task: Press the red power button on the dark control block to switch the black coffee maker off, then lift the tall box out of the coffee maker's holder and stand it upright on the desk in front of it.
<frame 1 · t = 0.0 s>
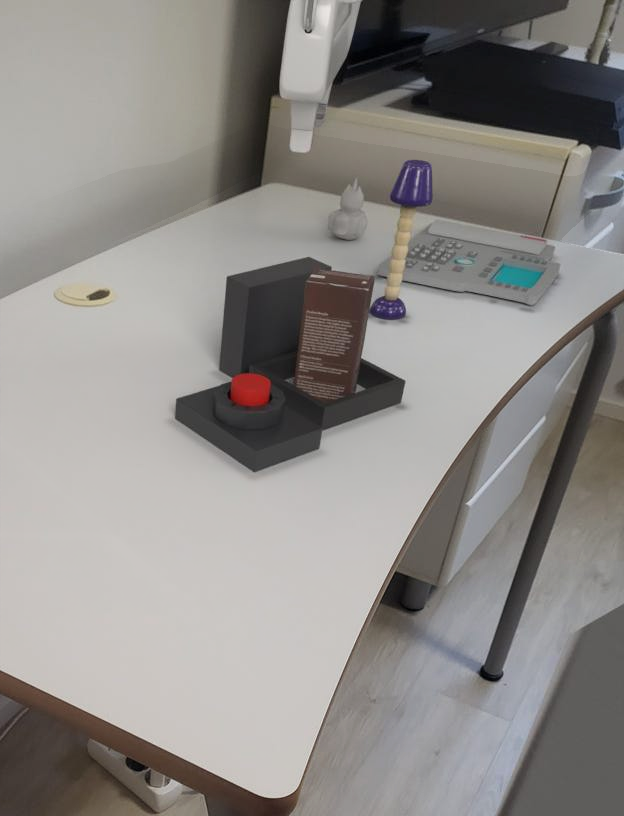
hand: (307, 137, 87), 23 cm above the table, tool pointing down, fingers open, 8 cm apart
power button: (250, 390, 90), point 4 cm above the table, slide at 0.1 cm
box: (323, 397, 99), resting in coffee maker
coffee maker: (323, 395, 99), on the table
toy lamp: (388, 313, 117), on the table
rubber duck: (344, 240, 136), on the table
office telephone: (476, 267, 130), on the table
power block: (245, 433, 93), on the table
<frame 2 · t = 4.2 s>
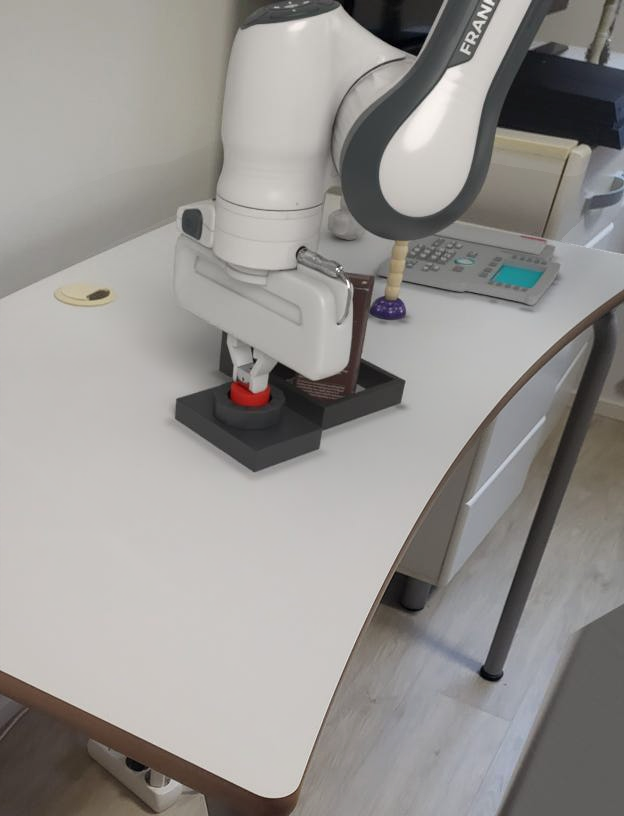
hand: (249, 386, 89), 5 cm above the table, tool pointing down, fingers closed, pressing on power button
power button: (249, 395, 90), point 4 cm above the table, slide at -0.4 cm, touching gripper
everything else where it was.
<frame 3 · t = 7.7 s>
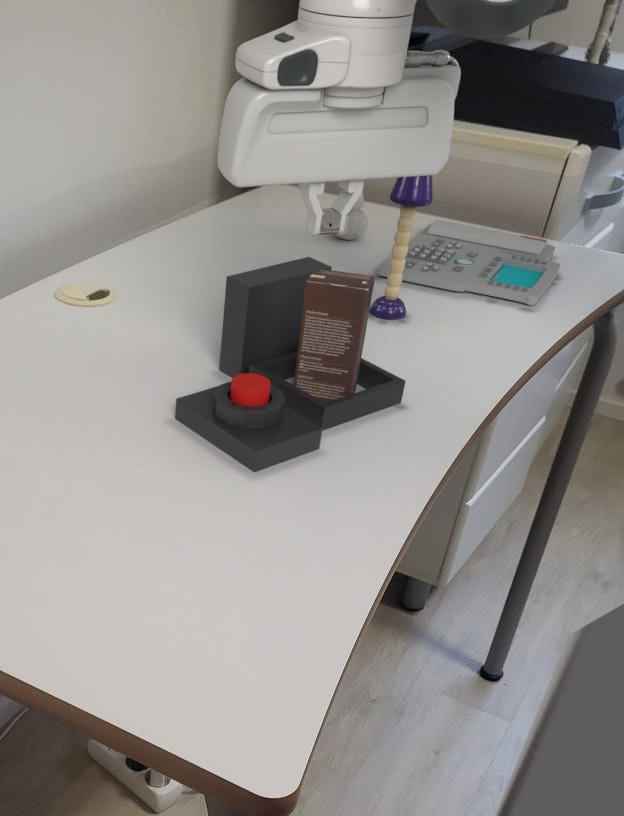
hand: (324, 232, 86), 17 cm above the table, tool pointing down, fingers closed
power button: (250, 390, 90), point 4 cm above the table, slide at 0.1 cm
everything else where it was.
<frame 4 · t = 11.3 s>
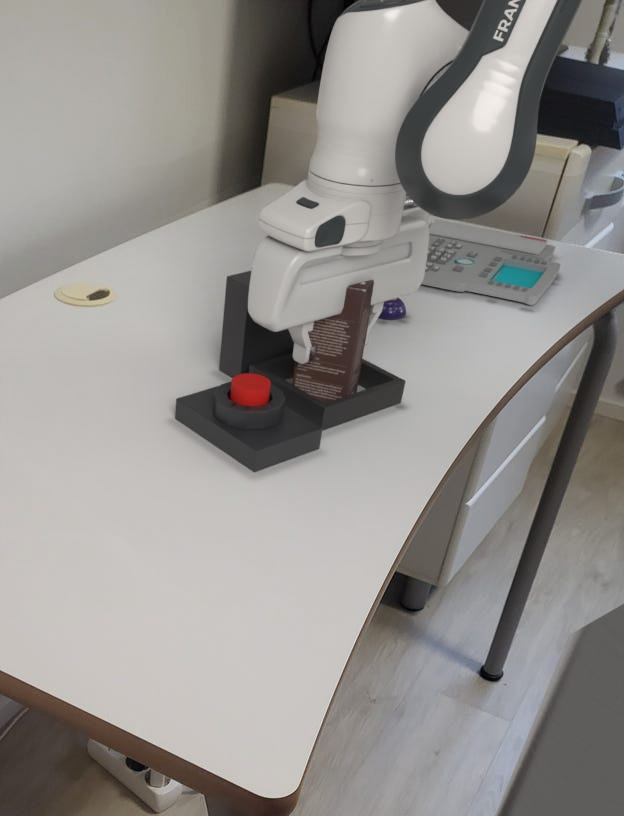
hand: (329, 352, 96), 5 cm above the table, tool pointing down, fingers closed on box, 6 cm apart
box: (322, 397, 99), resting in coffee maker, touching gripper
everything else where it was.
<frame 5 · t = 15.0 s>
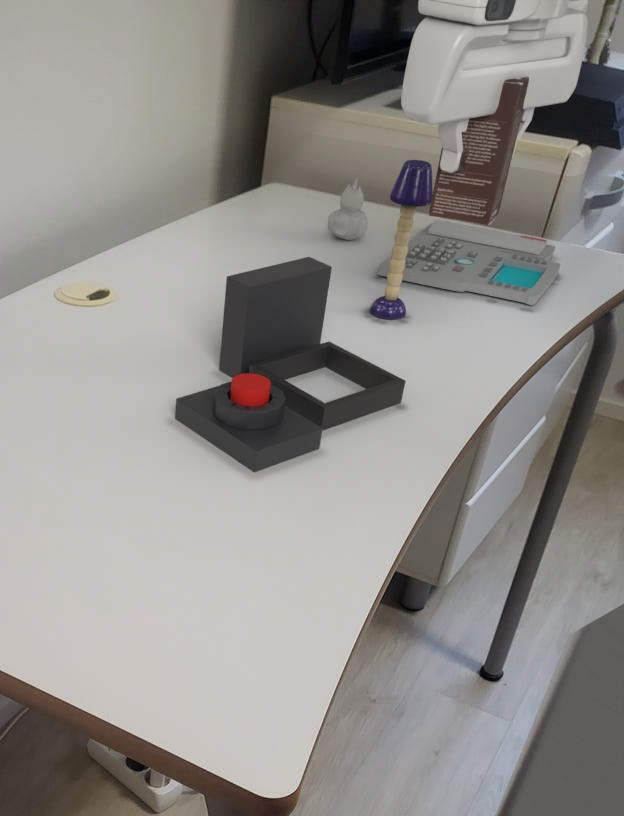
hand: (475, 165, 91), 21 cm above the table, tool pointing down, fingers closed on box, 5 cm apart
box: (462, 218, 94), point 16 cm above the table, touching gripper
everything else where it was.
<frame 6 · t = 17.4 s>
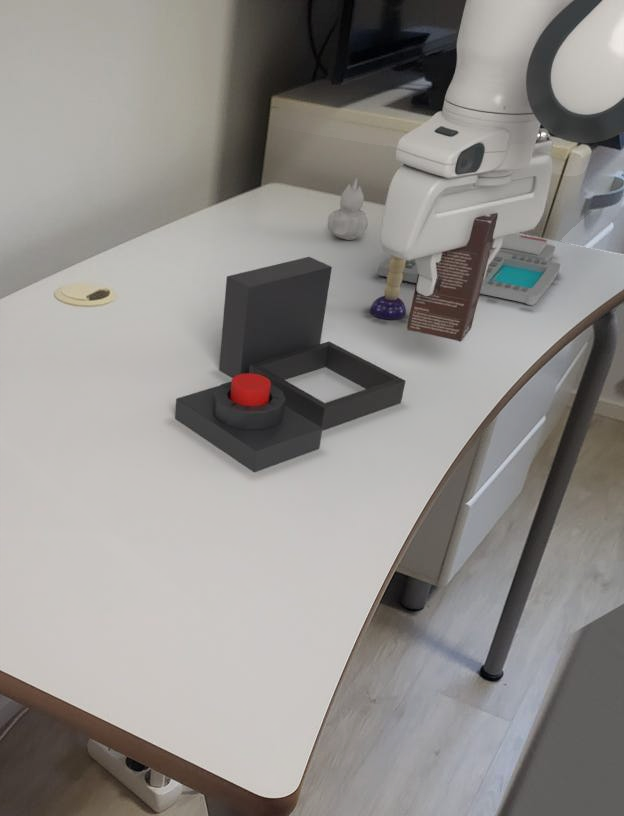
hand: (449, 287, 98), 9 cm above the table, tool pointing down, fingers closed on box, 5 cm apart
box: (437, 331, 102), point 4 cm above the table, touching gripper
everything else where it was.
when the fingers open (4 cm above the table, at t = 19.1 s): box stays where it is, on the table.
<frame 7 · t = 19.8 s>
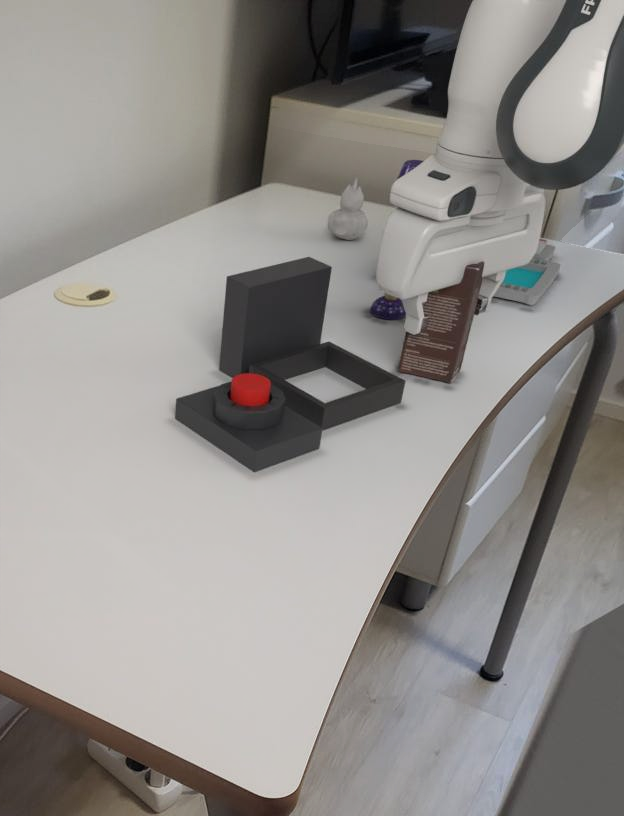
hand: (446, 321, 101), 5 cm above the table, tool pointing down, fingers open, 8 cm apart
box: (428, 372, 104), on the table
everything else where it was.
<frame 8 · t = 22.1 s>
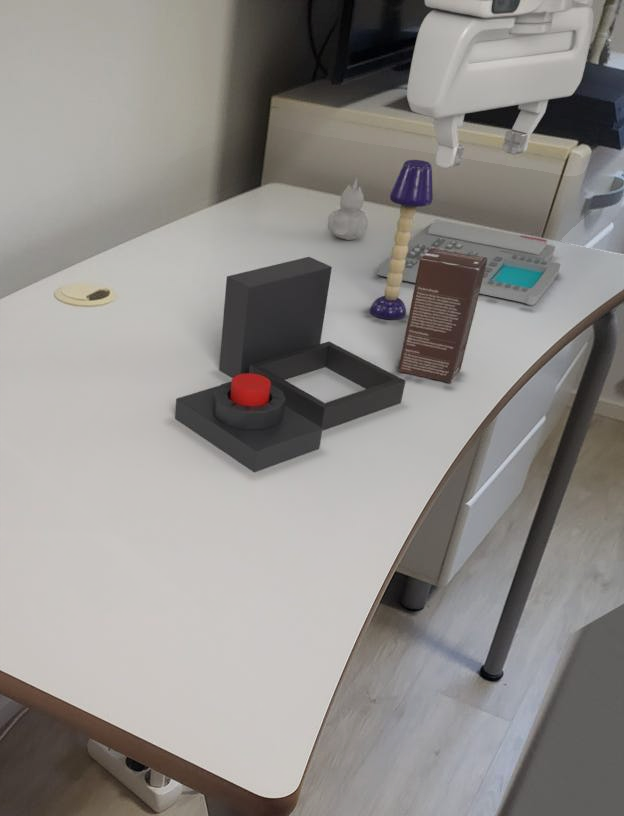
hand: (481, 159, 91), 21 cm above the table, tool pointing down, fingers open, 8 cm apart
nothing on the table moved.
at the end: power button pushed in 1.1 cm at the most during the clip, back to where it started at the end; box inside the target area (0.3 cm from its centre), on the table; box tilted 0° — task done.
